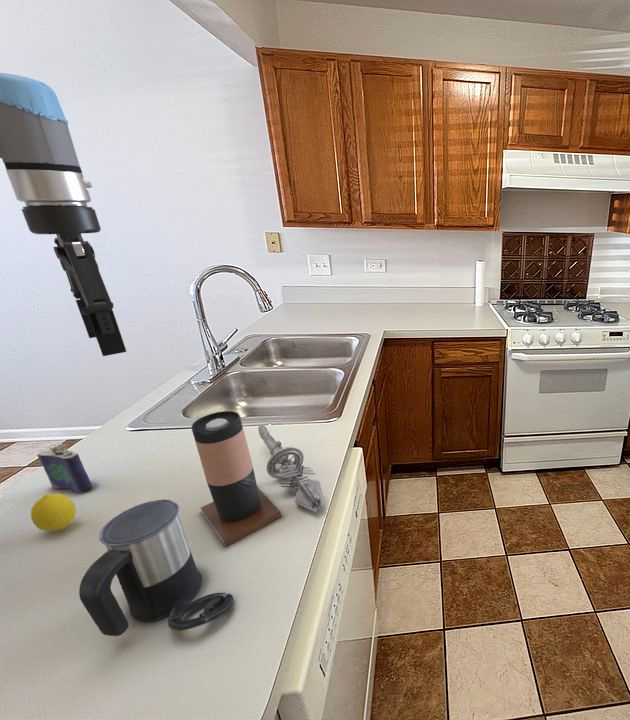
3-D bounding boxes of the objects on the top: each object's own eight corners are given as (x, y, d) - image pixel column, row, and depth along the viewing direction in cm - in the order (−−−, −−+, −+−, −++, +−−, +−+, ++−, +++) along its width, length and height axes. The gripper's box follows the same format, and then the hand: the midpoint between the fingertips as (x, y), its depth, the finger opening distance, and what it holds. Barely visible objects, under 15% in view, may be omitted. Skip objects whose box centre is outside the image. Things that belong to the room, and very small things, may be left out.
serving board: (202, 513, 79) (200, 507, 79) (255, 488, 86) (253, 483, 86) (225, 547, 71) (223, 541, 71) (281, 517, 78) (280, 511, 78)
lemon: (51, 523, 77) (35, 489, 74) (87, 515, 79) (73, 482, 76) (33, 544, 72) (15, 509, 69) (72, 535, 74) (56, 501, 71)
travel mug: (248, 491, 83) (226, 407, 76) (269, 504, 80) (249, 417, 72) (209, 514, 77) (181, 424, 70) (231, 529, 74) (204, 436, 66)
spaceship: (278, 412, 102) (245, 412, 96) (343, 487, 80) (305, 492, 74) (270, 440, 103) (237, 441, 97) (332, 521, 81) (294, 529, 75)
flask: (49, 489, 86) (30, 447, 83) (65, 480, 89) (47, 439, 85) (84, 494, 85) (65, 452, 81) (98, 485, 87) (81, 444, 84)
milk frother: (151, 574, 66) (122, 503, 61) (254, 557, 69) (235, 488, 64) (94, 663, 53) (52, 583, 48) (224, 637, 56) (198, 558, 51)
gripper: (107, 204, 52) (154, 355, 60) (81, 205, 67) (121, 325, 75) (23, 203, 47) (86, 369, 54) (16, 205, 62) (66, 334, 70)
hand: (107, 344), depth 65 cm, fingers open, 13 cm apart
